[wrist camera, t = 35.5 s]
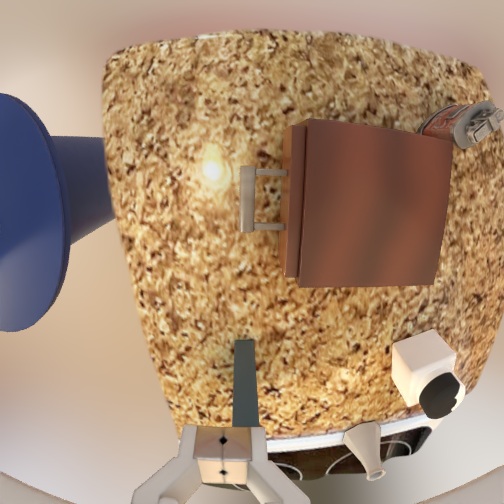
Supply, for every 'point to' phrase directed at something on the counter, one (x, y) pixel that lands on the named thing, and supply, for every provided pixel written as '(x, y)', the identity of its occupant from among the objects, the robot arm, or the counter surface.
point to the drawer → (289, 198)
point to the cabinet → (372, 206)
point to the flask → (366, 447)
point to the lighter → (463, 123)
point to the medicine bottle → (427, 374)
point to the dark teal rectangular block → (245, 385)
